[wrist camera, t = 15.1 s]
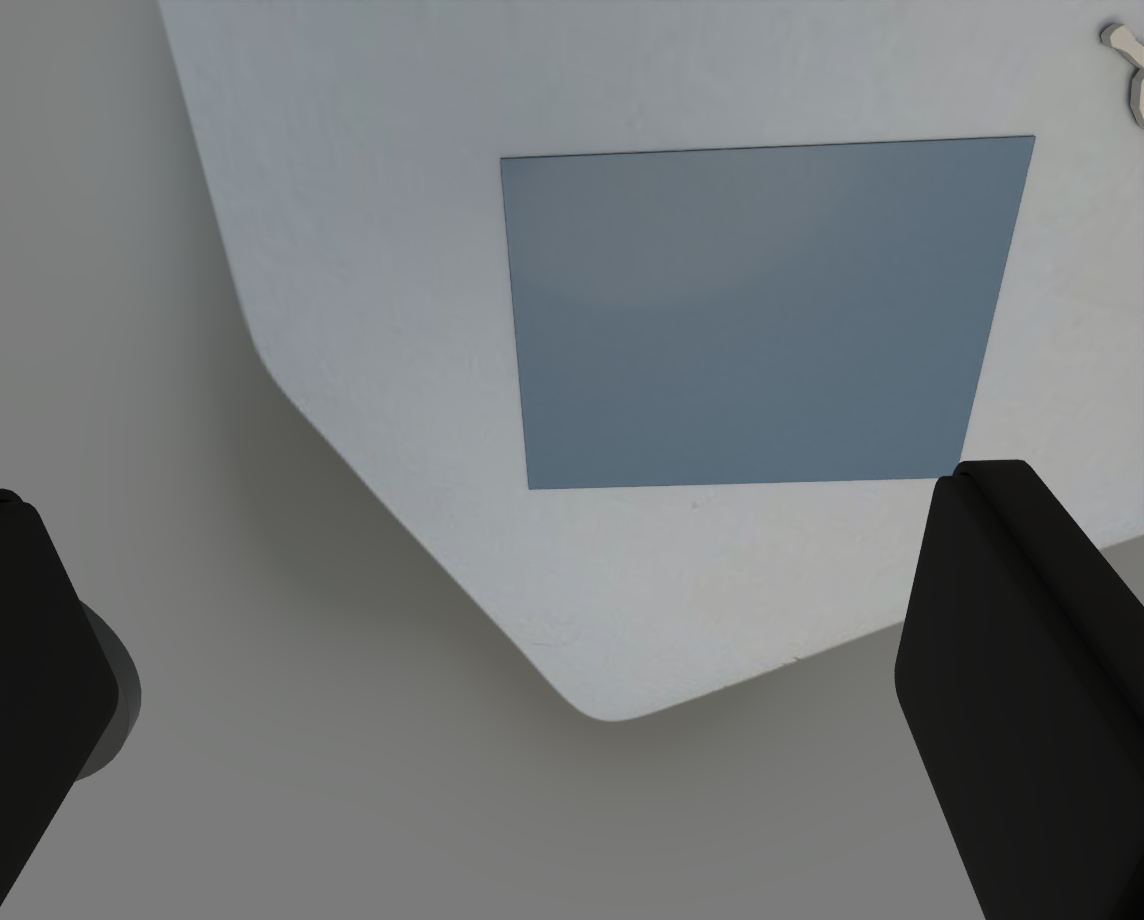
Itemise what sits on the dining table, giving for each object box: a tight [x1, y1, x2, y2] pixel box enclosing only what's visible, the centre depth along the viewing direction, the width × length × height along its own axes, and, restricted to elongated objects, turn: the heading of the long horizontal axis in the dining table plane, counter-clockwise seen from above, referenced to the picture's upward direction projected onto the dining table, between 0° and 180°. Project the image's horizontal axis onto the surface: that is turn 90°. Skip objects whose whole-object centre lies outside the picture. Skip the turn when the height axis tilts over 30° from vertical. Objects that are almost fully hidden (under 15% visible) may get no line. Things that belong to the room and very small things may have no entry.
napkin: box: [501, 136, 1036, 490], centre depth 38 cm, size 21×16×1 cm
